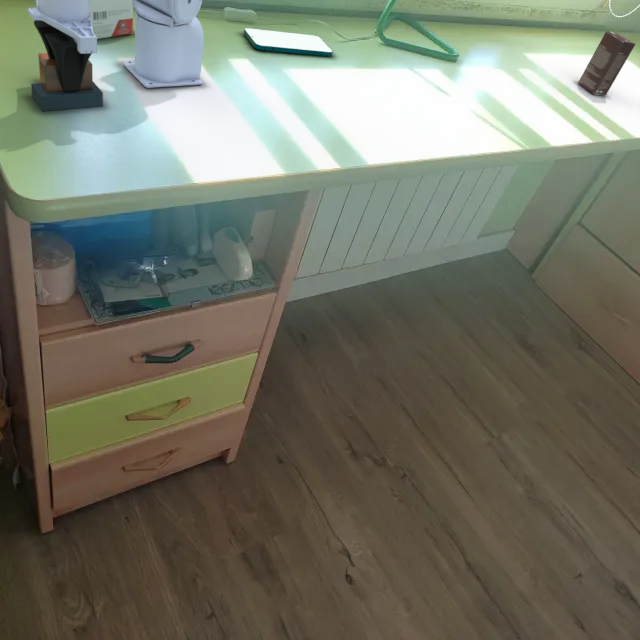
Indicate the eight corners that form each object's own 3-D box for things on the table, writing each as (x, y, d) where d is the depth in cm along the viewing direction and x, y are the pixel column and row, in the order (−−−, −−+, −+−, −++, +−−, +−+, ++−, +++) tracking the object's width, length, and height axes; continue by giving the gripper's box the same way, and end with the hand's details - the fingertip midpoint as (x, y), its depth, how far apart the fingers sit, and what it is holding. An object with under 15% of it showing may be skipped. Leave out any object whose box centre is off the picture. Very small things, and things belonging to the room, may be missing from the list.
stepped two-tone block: (92, 94, 84) (91, 54, 80) (103, 106, 82) (102, 66, 79) (32, 98, 80) (28, 56, 76) (42, 111, 78) (39, 69, 74)
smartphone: (317, 40, 121) (241, 32, 114) (318, 35, 120) (242, 27, 113) (333, 57, 116) (255, 50, 109) (334, 53, 116) (256, 45, 108)
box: (606, 96, 140) (637, 43, 132) (592, 94, 138) (622, 41, 130) (590, 84, 144) (619, 32, 136) (576, 82, 142) (604, 30, 134)
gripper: (4, -53, 72) (16, 61, 81) (50, -5, 65) (57, 114, 74) (65, -49, 76) (69, 59, 85) (114, -3, 69) (113, 109, 78)
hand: (67, 84), depth 79 cm, fingers closed on stepped two-tone block, 2 cm apart
